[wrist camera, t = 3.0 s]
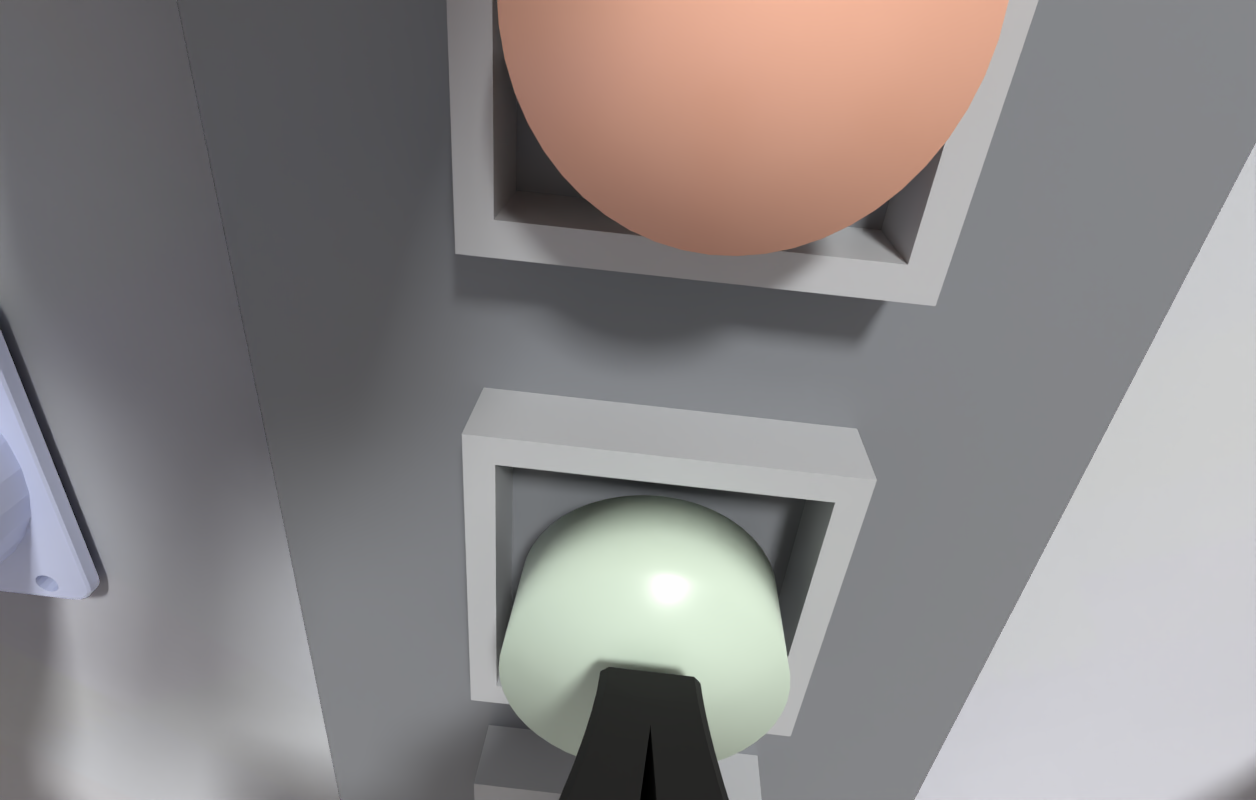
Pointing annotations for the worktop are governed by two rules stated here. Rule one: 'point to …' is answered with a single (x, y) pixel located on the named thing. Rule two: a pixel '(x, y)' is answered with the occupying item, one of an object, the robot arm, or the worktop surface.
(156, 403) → the worktop surface
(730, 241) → the terracotta button
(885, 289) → the button panel
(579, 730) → the sage button
